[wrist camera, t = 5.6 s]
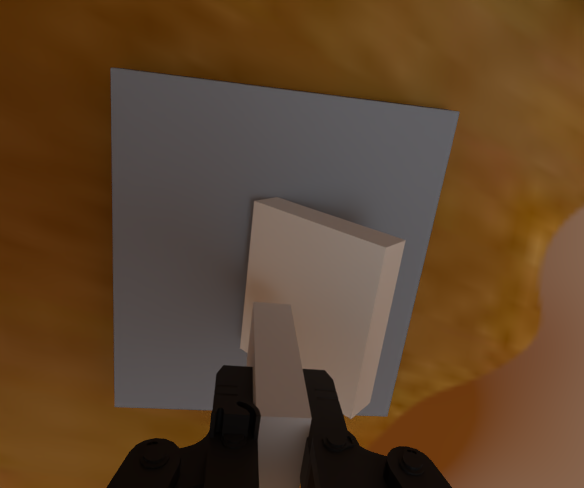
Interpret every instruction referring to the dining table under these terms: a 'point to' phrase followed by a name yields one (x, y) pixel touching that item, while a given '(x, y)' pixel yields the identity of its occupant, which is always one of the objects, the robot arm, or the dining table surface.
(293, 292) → the tile
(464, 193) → the dining table surface
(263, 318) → the robot arm
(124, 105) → the board
